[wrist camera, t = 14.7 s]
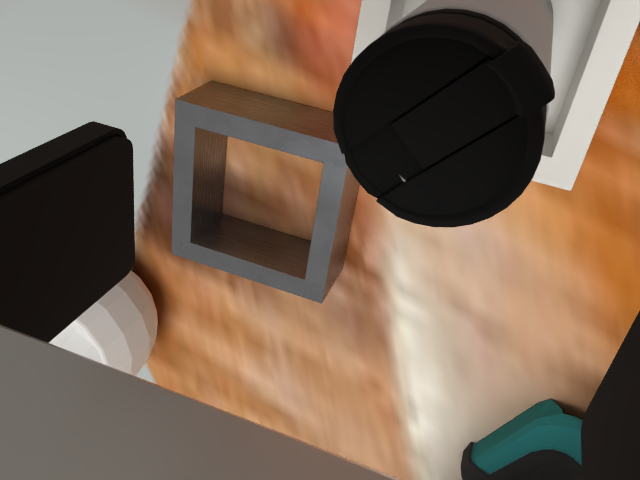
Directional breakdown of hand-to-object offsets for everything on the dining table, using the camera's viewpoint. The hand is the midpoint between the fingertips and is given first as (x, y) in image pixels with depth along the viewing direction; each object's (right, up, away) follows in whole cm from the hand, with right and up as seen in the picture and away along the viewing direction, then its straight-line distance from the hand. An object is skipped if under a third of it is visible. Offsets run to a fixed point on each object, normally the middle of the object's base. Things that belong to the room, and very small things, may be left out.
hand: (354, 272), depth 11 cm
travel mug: (+9, +13, +23) cm, 28 cm away
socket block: (-4, +5, +35) cm, 35 cm away
